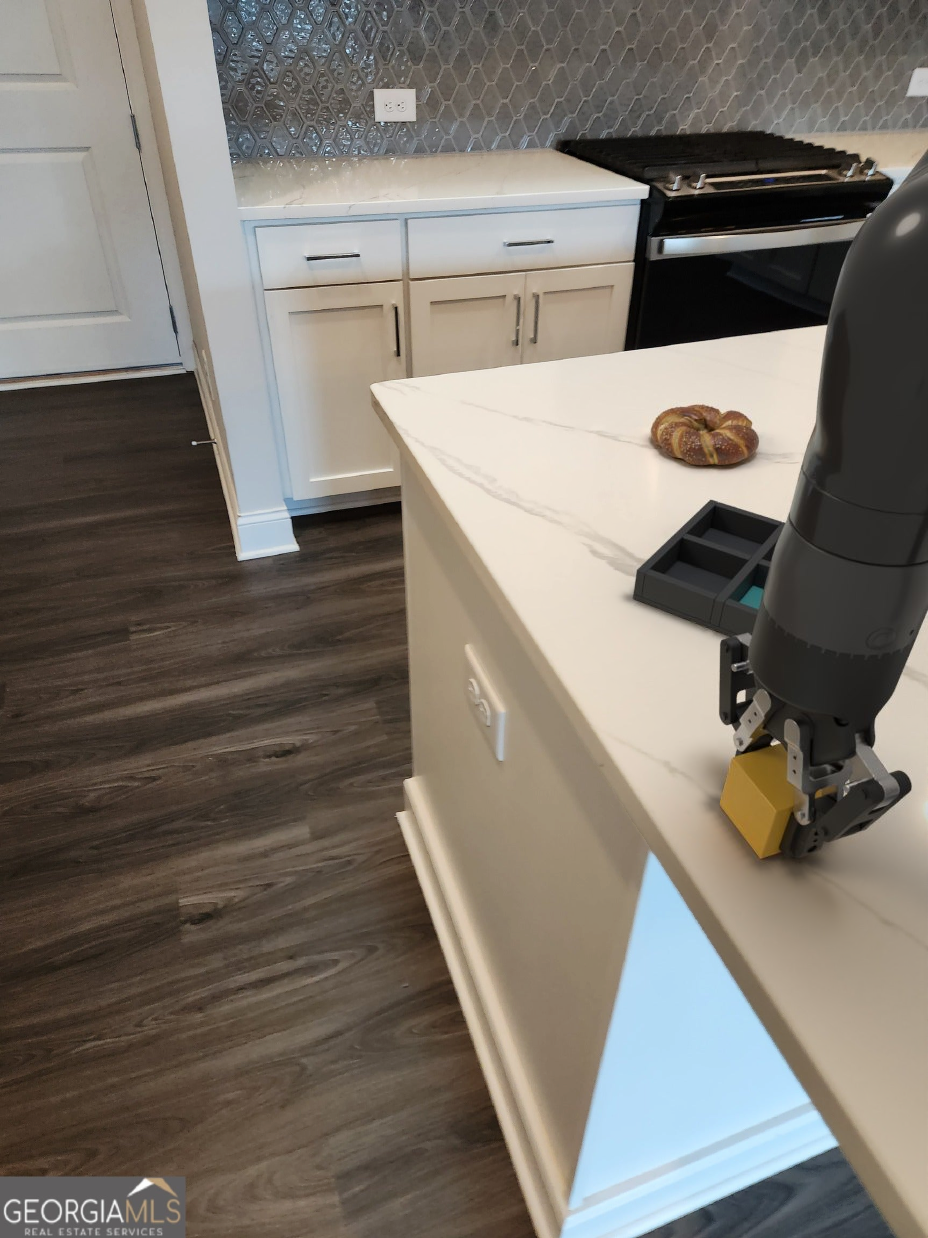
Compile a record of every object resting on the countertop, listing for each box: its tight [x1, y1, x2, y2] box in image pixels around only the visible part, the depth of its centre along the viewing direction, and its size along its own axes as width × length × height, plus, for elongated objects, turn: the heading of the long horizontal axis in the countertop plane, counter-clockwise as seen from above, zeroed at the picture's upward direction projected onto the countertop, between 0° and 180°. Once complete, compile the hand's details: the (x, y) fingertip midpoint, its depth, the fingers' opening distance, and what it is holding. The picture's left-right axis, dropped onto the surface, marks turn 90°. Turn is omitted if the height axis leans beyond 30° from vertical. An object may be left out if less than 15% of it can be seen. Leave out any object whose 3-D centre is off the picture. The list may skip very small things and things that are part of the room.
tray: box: [632, 499, 786, 638], centre depth 71 cm, size 15×15×3 cm
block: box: [719, 742, 822, 860], centre depth 51 cm, size 4×4×4 cm
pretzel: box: [650, 404, 760, 466], centre depth 93 cm, size 12×11×4 cm
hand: (769, 817), depth 52 cm, fingers closed on block, 4 cm apart
